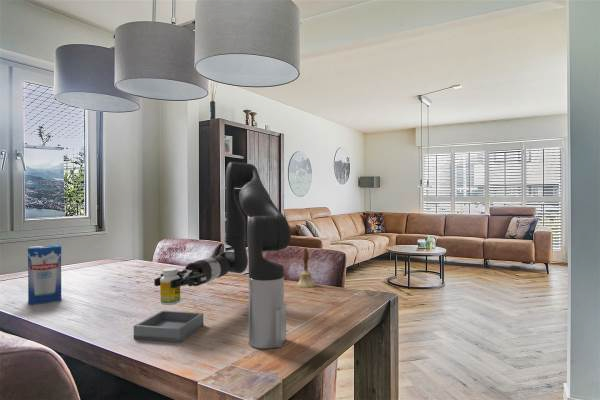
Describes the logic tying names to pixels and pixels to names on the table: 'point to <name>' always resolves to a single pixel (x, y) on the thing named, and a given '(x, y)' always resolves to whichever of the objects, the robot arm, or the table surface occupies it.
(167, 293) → the supplement bottle
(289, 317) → the table surface
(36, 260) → the milk carton
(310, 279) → the hand bell
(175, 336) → the tray
